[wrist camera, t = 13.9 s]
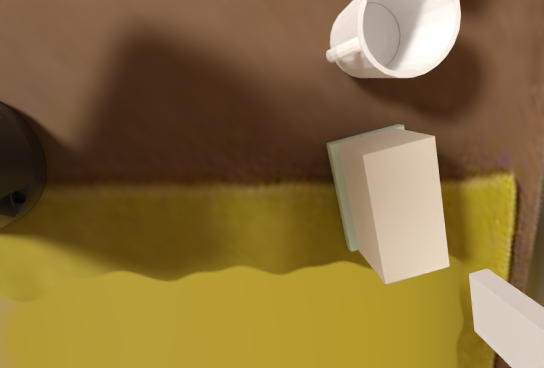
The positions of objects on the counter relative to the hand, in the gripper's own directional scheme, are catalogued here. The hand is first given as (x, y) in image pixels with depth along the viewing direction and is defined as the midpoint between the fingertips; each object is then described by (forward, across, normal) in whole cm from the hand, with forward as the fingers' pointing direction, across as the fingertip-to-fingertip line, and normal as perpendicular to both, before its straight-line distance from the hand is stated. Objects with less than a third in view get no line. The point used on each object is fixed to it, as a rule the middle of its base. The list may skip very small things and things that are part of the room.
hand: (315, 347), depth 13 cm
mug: (+29, +14, +12) cm, 34 cm away
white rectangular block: (+27, +13, -5) cm, 30 cm away
